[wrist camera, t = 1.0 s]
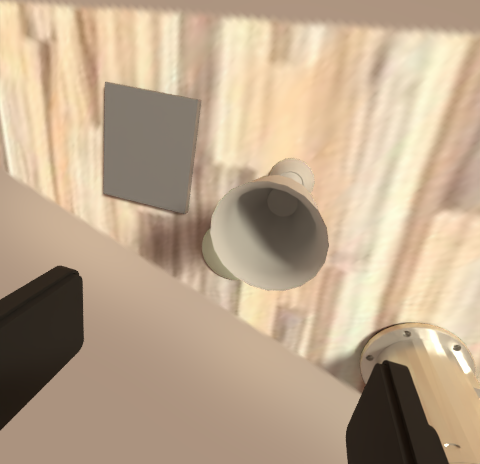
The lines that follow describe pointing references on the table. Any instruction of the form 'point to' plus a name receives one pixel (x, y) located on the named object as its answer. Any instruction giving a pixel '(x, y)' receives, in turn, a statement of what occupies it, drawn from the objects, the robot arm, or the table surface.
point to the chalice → (272, 229)
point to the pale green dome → (214, 258)
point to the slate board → (149, 146)
